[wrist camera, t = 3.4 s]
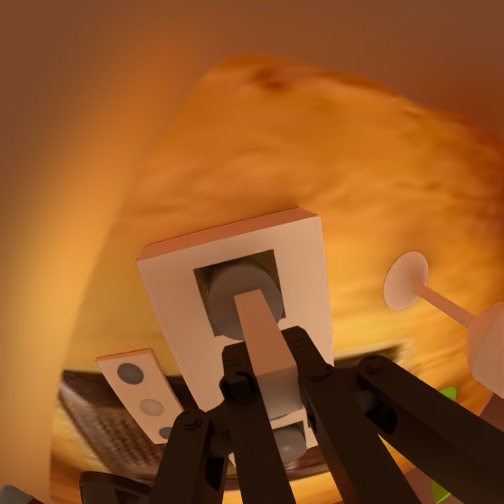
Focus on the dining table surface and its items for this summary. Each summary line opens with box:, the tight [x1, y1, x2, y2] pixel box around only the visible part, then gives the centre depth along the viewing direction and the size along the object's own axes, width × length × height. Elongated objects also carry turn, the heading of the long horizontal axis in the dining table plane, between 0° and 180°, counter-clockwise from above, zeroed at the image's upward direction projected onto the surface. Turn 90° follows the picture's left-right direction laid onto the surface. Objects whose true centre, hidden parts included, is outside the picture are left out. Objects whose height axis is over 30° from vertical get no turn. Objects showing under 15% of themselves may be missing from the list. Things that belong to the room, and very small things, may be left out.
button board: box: [136, 208, 334, 467], centre depth 23 cm, size 12×26×4 cm, turn 12°
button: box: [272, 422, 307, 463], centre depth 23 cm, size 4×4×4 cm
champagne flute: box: [383, 251, 504, 399], centre depth 14 cm, size 7×7×24 cm
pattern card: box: [95, 349, 185, 444], centre depth 24 cm, size 6×14×1 cm, turn 12°
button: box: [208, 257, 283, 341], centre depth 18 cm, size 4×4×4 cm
